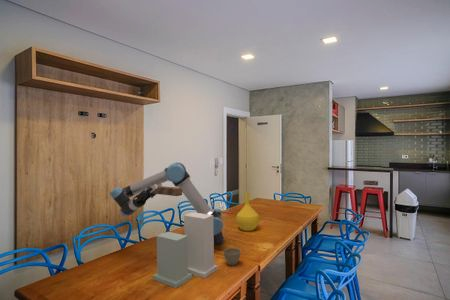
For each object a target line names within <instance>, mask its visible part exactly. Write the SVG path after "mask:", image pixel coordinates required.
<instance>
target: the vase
mask: <svg viewBox="0 0 450 300" xmlns="http://www.w3.org/2000/svg"><path fill="white" fill-rule="evenodd" d="M235 218H236V219H235V220H236V223H237V225H238V227H239V228H240V229H241V231H243V232H244V231H245V232H251V231H254V230H255V229H256V228H257V226H258V224H259V220H260V216H259V214H258V213H257V211H256V210H254V209H253V207H252V206H251V204H250V193H249V192H245V203H244V206H243V207H242V208H241V209H240V211H239V212H238V213H237V214H236V217H235Z"/></svg>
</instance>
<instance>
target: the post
mask: <svg viewBox="0 0 450 300" xmlns="http://www.w3.org/2000/svg"><path fill="white" fill-rule="evenodd" d="M156 263H157V264H156V266H157V267H156V273H155V274H153V275H152V280H154V281H156V282H159V283H162V284H163V285H166V286H170V287H172V288H175V289H177V288H179V287H181V286H182V285H184V284H185V283H186V282H188V281H189V280H191V279H193V274H191V273H188V236H186V235H184V234H181V233H176V232H171V231H166V232H162V233H161V234H157V235H156Z"/></svg>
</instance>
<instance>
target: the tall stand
mask: <svg viewBox="0 0 450 300" xmlns="http://www.w3.org/2000/svg"><path fill="white" fill-rule="evenodd" d="M183 223H184V225H183V226H184V227H183V228H184V234H183V235H186V236H188V273H191V274H192V276H196V277H199V278H202V279H205V278H207V277H209V276H210V275H211V274H213V273H214V272H216V271H218V269H219V267H218V266H219V265H217V264H215V249H214V248H215V247H214V246H215V245H214V229H213V215H208V214H202V213H197V212H196V211H195V212H189V213H187V214H184V215H183Z"/></svg>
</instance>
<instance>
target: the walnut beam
mask: <svg viewBox="0 0 450 300" xmlns="http://www.w3.org/2000/svg"><path fill="white" fill-rule="evenodd" d="M150 187H152V186H148V189H149V188H150ZM149 193H150V192H149ZM152 194H156V195H162V196H171V197H179V196H183V192H182V188H179V187H175V186H174V187H173V186H164V185H163V186H158V185H157V189H156V190H154V191H153V192H152Z"/></svg>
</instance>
